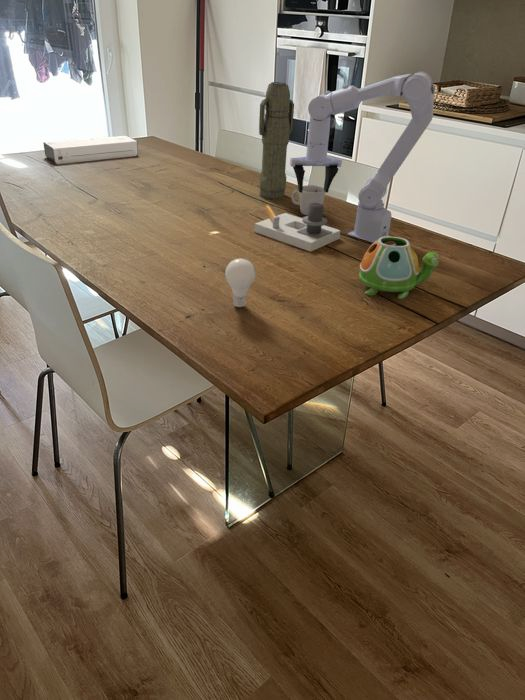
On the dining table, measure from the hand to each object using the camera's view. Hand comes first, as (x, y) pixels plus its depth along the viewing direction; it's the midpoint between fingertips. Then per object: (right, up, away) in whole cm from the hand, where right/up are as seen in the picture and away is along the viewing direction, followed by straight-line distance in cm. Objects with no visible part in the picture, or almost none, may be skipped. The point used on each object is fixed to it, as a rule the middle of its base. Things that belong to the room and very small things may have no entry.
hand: (313, 191), depth 162 cm
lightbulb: (-20, -37, -40) cm, 58 cm away
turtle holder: (+16, -31, -28) cm, 45 cm away
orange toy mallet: (-12, -8, 0) cm, 15 cm away
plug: (0, -13, -6) cm, 14 cm away
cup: (-1, -3, +16) cm, 16 cm away
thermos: (-11, +7, +30) cm, 33 cm away
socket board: (-5, -13, -1) cm, 14 cm away
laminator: (-82, +31, +62) cm, 108 cm away
